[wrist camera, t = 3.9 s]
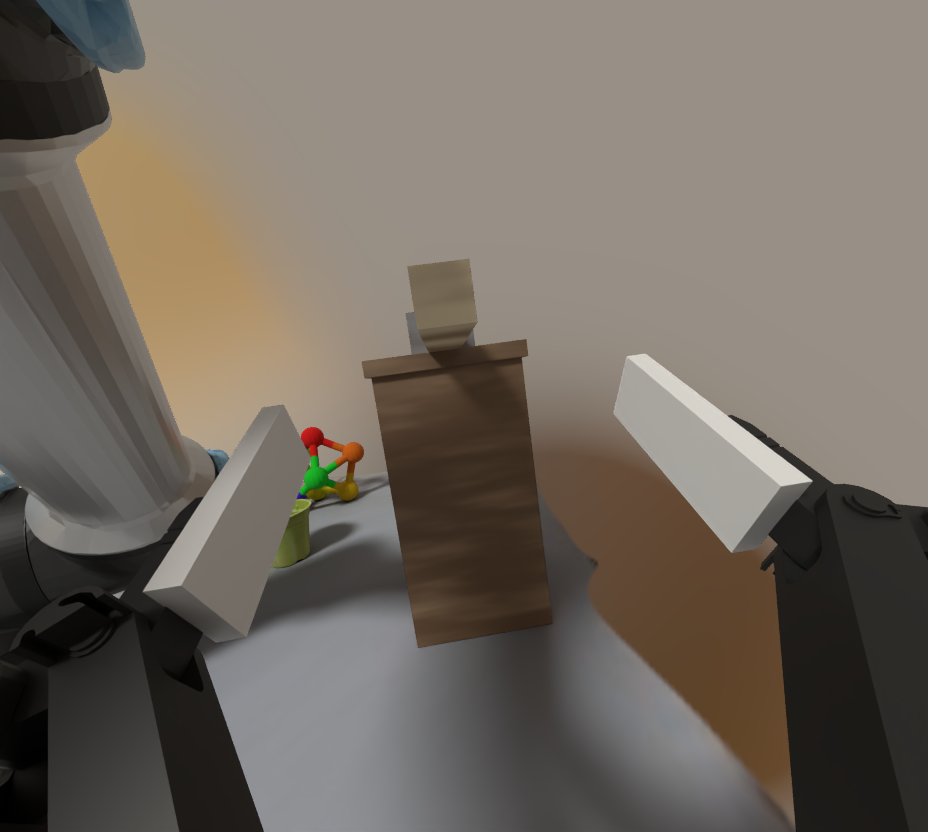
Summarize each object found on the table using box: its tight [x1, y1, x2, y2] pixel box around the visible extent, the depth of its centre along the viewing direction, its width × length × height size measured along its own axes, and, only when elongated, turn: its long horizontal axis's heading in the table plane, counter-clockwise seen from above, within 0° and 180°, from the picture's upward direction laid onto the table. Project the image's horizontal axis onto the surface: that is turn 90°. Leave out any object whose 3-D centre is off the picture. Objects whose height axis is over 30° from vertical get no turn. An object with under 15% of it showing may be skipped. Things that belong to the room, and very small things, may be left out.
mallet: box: [406, 259, 477, 355], centre depth 30 cm, size 28×7×5 cm, turn 4°
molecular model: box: [296, 427, 364, 501], centre depth 77 cm, size 21×15×20 cm
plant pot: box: [272, 499, 311, 568], centre depth 55 cm, size 9×9×9 cm
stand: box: [362, 339, 552, 648], centre depth 39 cm, size 15×15×29 cm
